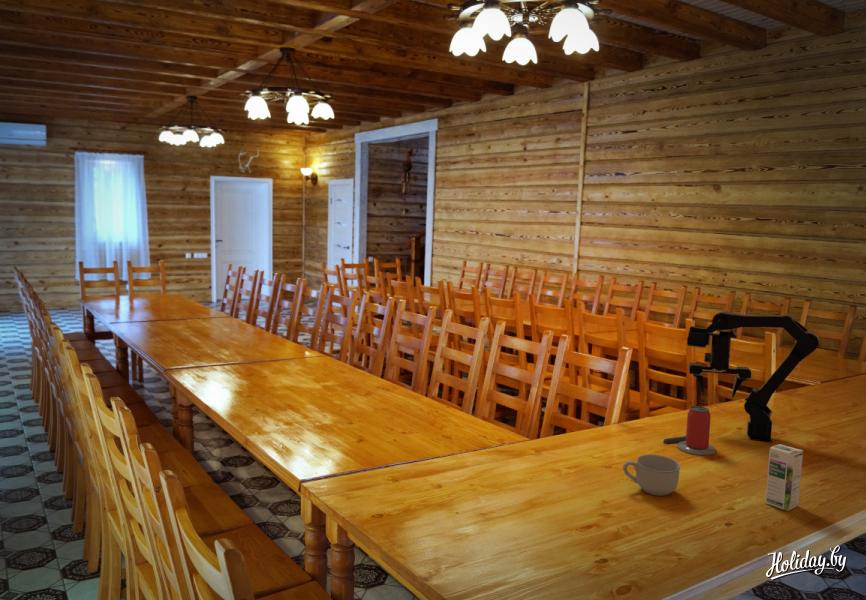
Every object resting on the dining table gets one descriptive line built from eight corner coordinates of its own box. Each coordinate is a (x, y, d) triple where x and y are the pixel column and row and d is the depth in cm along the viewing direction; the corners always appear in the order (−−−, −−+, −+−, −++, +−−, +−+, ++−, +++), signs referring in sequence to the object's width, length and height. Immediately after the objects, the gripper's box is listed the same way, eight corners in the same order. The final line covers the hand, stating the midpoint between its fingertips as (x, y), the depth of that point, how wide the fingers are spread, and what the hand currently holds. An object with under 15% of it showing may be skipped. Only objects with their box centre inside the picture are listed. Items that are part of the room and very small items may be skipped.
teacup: (678, 486, 175) (679, 457, 174) (679, 502, 165) (680, 471, 164) (623, 479, 180) (624, 450, 179) (620, 494, 169) (622, 464, 168)
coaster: (714, 445, 207) (714, 443, 207) (717, 457, 197) (717, 454, 197) (676, 441, 211) (676, 439, 211) (677, 452, 200) (677, 450, 200)
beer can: (713, 449, 202) (715, 410, 200) (695, 451, 200) (697, 412, 198) (698, 442, 208) (700, 404, 207) (680, 444, 206) (683, 406, 204)
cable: (689, 439, 214) (689, 434, 213) (692, 441, 212) (692, 436, 212) (662, 443, 210) (662, 438, 210) (665, 444, 208) (665, 439, 208)
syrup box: (764, 503, 165) (768, 447, 163) (776, 498, 168) (780, 442, 167) (787, 512, 160) (792, 454, 158) (799, 506, 164) (804, 449, 162)
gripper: (748, 347, 224) (745, 392, 225) (689, 343, 229) (686, 387, 231) (753, 353, 213) (749, 400, 215) (690, 349, 219) (687, 395, 221)
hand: (717, 395), depth 221 cm, fingers open, 9 cm apart
